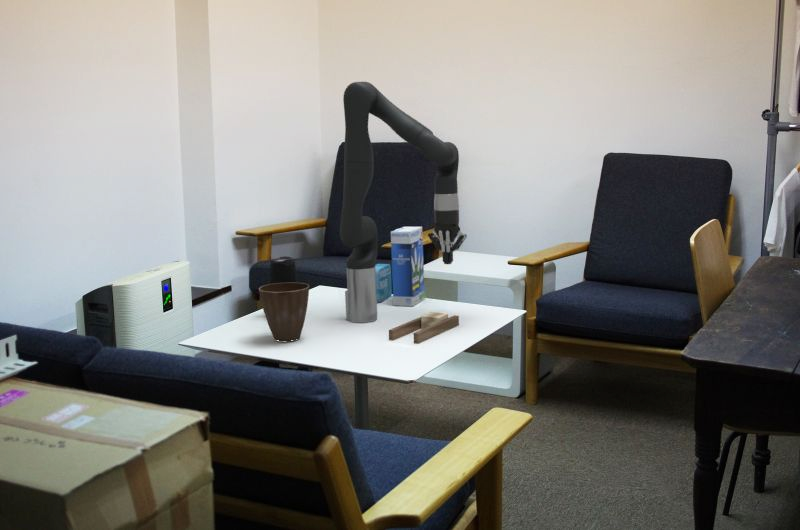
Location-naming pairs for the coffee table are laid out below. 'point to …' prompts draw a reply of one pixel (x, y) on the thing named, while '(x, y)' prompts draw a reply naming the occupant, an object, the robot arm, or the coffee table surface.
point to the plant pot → (285, 308)
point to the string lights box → (407, 266)
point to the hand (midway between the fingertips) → (448, 263)
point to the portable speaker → (282, 270)
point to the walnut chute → (425, 332)
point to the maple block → (432, 319)
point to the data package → (383, 282)
